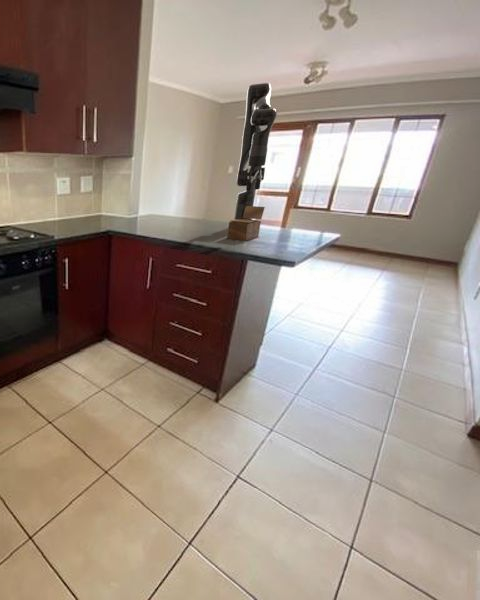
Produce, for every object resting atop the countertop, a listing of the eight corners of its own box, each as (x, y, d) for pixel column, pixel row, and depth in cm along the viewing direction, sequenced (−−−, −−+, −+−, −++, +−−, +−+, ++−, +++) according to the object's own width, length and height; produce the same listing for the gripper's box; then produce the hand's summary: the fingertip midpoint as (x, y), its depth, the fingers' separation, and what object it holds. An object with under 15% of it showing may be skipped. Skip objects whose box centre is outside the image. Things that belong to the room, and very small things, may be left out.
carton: (240, 234, 184) (242, 217, 180) (258, 236, 176) (261, 219, 173) (227, 238, 177) (229, 220, 173) (245, 240, 169) (248, 222, 166)
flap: (242, 217, 180) (242, 217, 180) (260, 219, 173) (261, 219, 173) (245, 205, 179) (246, 205, 179) (264, 206, 172) (264, 207, 172)
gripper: (257, 155, 170) (252, 188, 176) (242, 156, 162) (238, 190, 168) (272, 154, 164) (267, 189, 170) (258, 155, 157) (252, 191, 163)
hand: (252, 190), depth 169 cm, fingers open, 8 cm apart
